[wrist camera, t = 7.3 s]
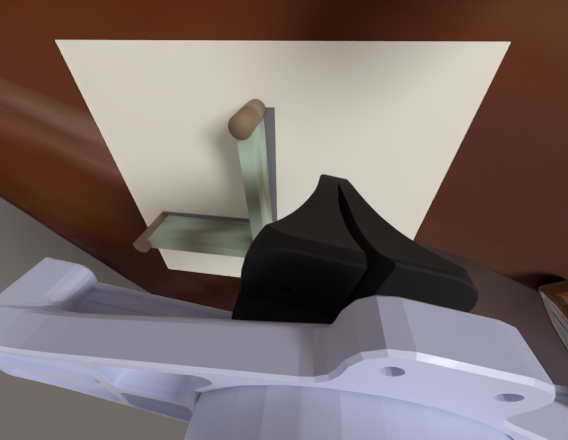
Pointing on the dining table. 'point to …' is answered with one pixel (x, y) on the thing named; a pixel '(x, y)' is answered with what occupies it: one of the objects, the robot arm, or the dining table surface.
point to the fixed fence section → (196, 236)
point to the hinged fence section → (253, 162)
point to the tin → (557, 307)
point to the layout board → (281, 122)
